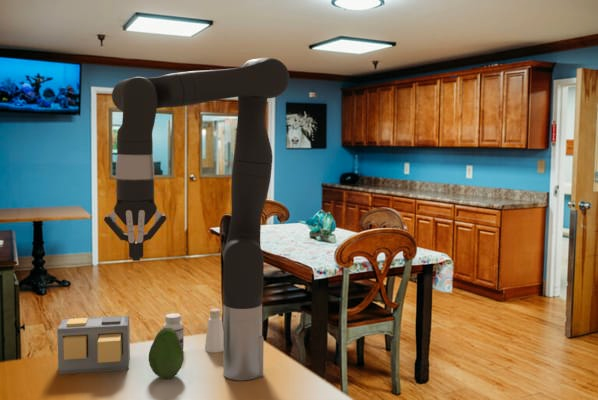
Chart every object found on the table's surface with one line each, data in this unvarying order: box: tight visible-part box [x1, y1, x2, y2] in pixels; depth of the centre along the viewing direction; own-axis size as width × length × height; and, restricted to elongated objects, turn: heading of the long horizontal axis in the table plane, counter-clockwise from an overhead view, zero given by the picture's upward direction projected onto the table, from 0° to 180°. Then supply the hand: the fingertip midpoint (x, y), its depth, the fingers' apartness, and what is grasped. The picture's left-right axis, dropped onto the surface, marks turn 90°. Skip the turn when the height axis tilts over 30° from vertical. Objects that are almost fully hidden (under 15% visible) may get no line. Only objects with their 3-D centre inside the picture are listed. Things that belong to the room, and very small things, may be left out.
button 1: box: [63, 335, 88, 360], centre depth 143 cm, size 5×8×5 cm, turn 13°
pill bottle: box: [162, 312, 185, 350], centre depth 157 cm, size 5×5×10 cm
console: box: [56, 315, 131, 375], centre depth 145 cm, size 16×8×12 cm, turn 103°
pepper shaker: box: [204, 307, 223, 354], centre depth 158 cm, size 5×5×11 cm
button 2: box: [98, 333, 122, 363], centre depth 141 cm, size 5×8×5 cm, turn 13°
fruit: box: [148, 327, 184, 380], centre depth 139 cm, size 8×8×12 cm
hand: (136, 259), depth 122 cm, fingers closed
